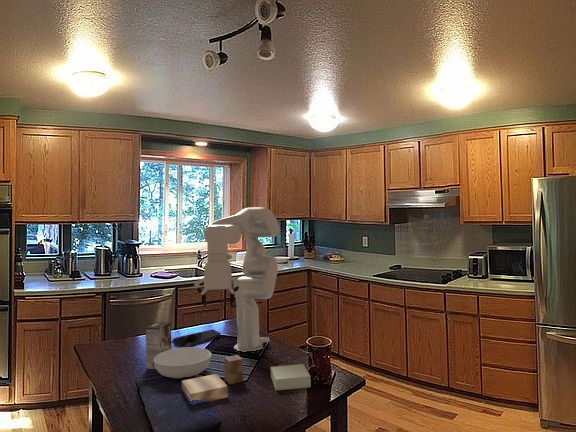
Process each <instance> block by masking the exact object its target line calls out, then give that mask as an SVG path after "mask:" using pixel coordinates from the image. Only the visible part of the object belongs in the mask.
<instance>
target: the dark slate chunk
mask: <svg viewBox="0 0 576 432" xmlns="http://www.w3.org/2000/svg"><path fill="white" fill-rule="evenodd" d="M216 337H217V338H218V337H221V332H219V331H217V330H215V329H209V330H204V331H199V332H195V333H193V332H192V333H189V334H185V335H181V336H177V337H174V338H173V339H171V344H174V346H178V347H179V348H182V347H196V346H198V345H201V344H203V343H207V342H210V341H212V340H215V339H217V338H216Z"/></svg>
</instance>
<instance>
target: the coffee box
mask: <svg viewBox="0 0 576 432" xmlns="http://www.w3.org/2000/svg"><path fill="white" fill-rule="evenodd" d="M171 324H172V322H169V321H168V322H167V321H157V322H155V323H153V324H150V325H148V326H147V327H145V328H144V330H145V332H144V333H145V354H146V355H145V358H146V359H145V360H146V369H147V370H156V368H155V365H154V360H153V359H154V357H155V356H156V355H157V354H159V353H161V352H163V351H166V350H170V349H173V348H172V343H171V342H172V325H171Z"/></svg>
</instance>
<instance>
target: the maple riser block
mask: <svg viewBox="0 0 576 432" xmlns="http://www.w3.org/2000/svg"><path fill="white" fill-rule="evenodd" d="M182 387H183V389H184V391H185V392H186V394H187V396H188V397H189V399H190V401H192V400H202V399H207V400H209V402H213V401H218V400H221V399H227V398H228V397H229V394H228V393H229V392H228V385H227V384H226V382H225V381H223V379H221V377H220V376H219V375H218V374H217V373H215V374H214V373H213V374H209V375H205V376H204V375H203V376H198V377H194V378H190V379H189V378H188V379H184V380H181V388H182Z"/></svg>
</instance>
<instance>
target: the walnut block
mask: <svg viewBox="0 0 576 432" xmlns="http://www.w3.org/2000/svg"><path fill="white" fill-rule="evenodd" d="M223 360H224V362H223V363H224V365H223V366H224V380H225V381H226V383H228V384H229V385H233V384H237V383H238V384H239V383H243V382H244V370H243V369H244V367H243V366H244V363H243V361H244V360H243V358H242V357H241V356H240V355H238V354H235V355H230V356H224V359H223Z"/></svg>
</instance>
